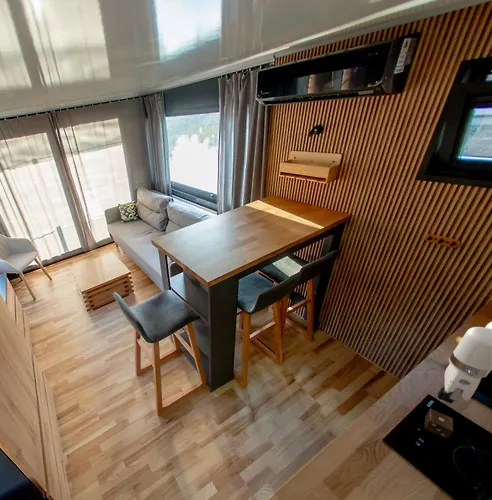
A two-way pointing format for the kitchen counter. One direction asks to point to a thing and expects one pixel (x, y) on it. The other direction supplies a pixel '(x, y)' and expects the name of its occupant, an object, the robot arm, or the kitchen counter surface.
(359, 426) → the kitchen counter surface
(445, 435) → the die
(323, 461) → the kitchen counter surface
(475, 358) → the robot arm
